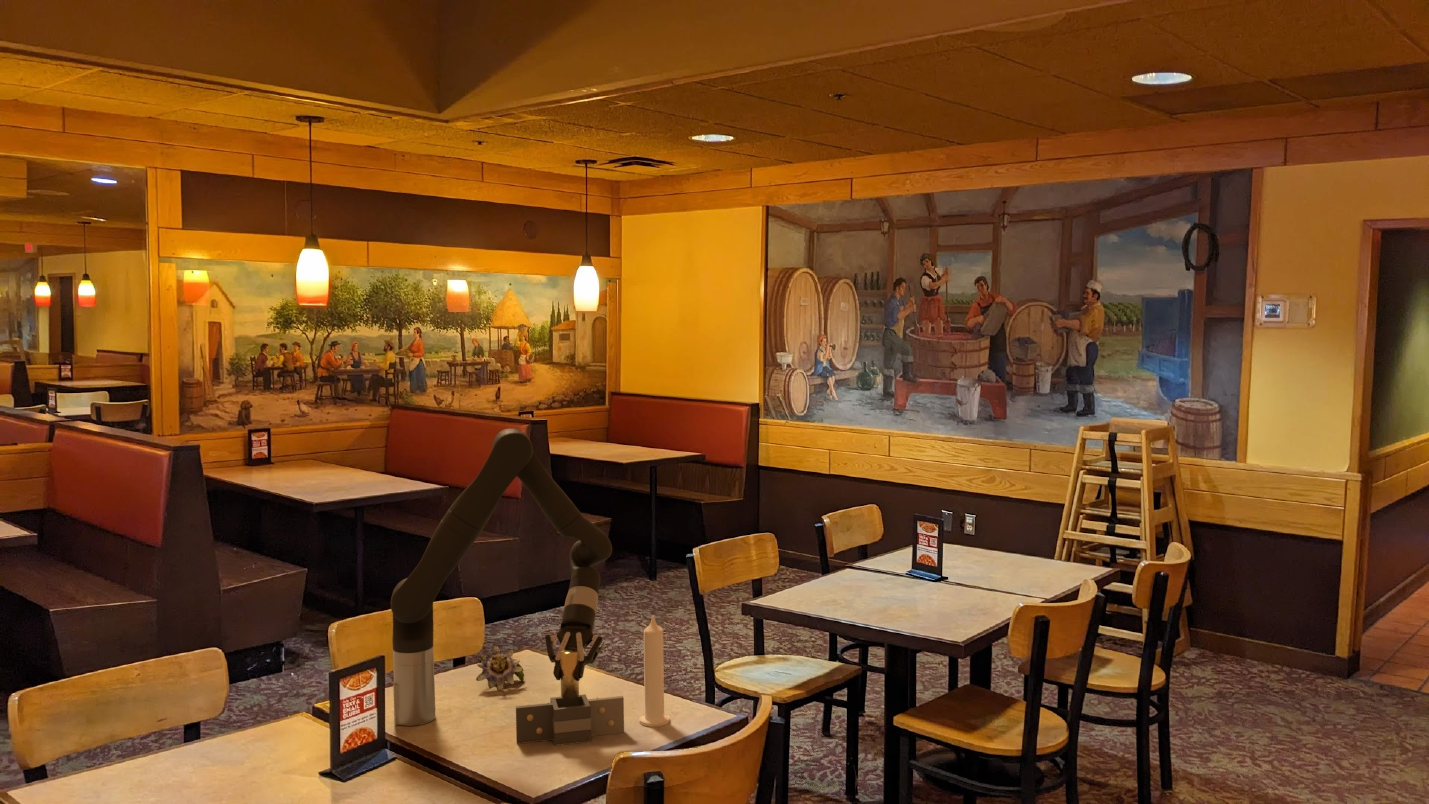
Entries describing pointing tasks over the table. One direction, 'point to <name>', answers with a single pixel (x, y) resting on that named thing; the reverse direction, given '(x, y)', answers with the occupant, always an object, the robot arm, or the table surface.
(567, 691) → the amber cylinder
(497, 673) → the passion flower
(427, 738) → the table surface
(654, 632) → the candle
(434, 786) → the table surface
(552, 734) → the hinge
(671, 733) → the table surface
